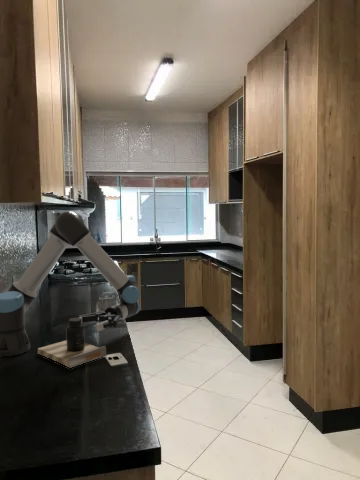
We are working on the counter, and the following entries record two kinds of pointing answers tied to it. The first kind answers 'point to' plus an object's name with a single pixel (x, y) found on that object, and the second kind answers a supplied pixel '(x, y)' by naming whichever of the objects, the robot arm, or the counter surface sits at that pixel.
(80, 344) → the supplement bottle
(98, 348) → the shelf board
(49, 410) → the counter surface
